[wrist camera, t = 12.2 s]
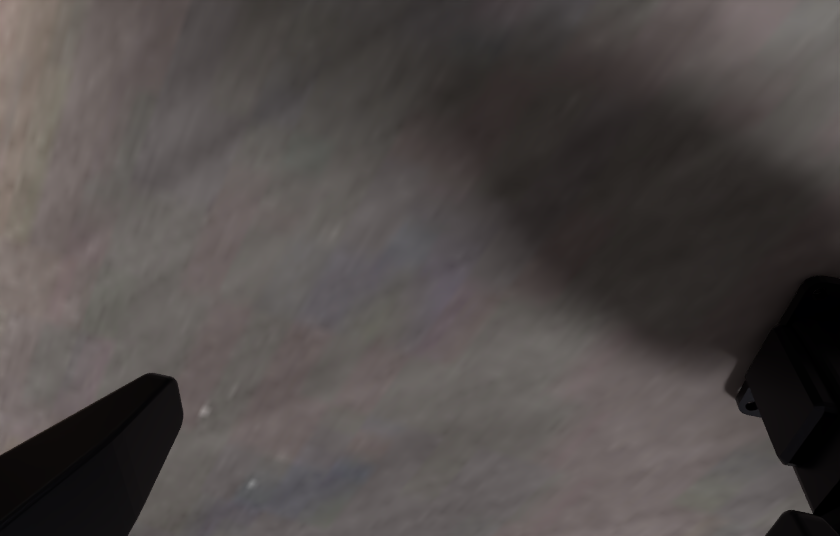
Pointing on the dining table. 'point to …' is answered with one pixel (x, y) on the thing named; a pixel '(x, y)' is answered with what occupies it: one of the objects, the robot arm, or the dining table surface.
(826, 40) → the dining table surface
